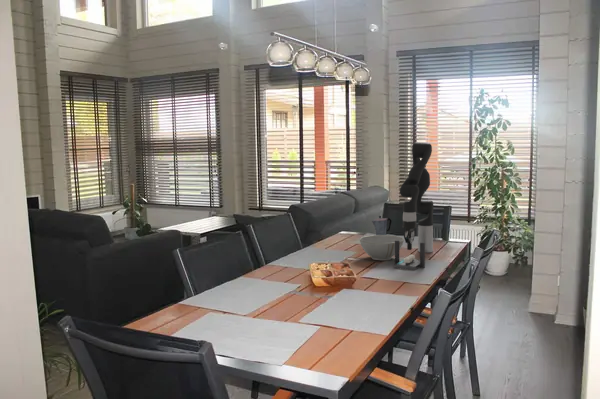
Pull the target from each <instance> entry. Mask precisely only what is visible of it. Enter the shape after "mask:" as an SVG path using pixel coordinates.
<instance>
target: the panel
mask: <svg viewBox="0 0 600 399" xmlns="http://www.w3.org/2000/svg"><path fill="white" fill-rule="evenodd" d="M400 268H401V270H402V269H403V270H408V271H409V270H410V271H416V270H418V269H420V259H415V260H413V261H410V263H405V262H404V258H403V259H401V260H399V262H398V263H396V264H395V263H394V269H400Z"/></svg>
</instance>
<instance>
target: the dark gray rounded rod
mask: <svg viewBox="0 0 600 399" xmlns="http://www.w3.org/2000/svg"><path fill="white" fill-rule="evenodd" d="M398 262H400V250H399V241H395V255H394V265H395V264H396V263H398Z"/></svg>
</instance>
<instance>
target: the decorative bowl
mask: <svg viewBox="0 0 600 399" xmlns="http://www.w3.org/2000/svg"><path fill="white" fill-rule="evenodd" d="M395 241H399V251H400V250H401V249H402V246H403V244H404V241H405V239H404V237H402V236H399V235H398V236H397V235H390V234H389V235H388V234H387V235H376V234H375V235H374V234H373V235H366V236H362V237H360V238H359V242H360V246H361V248H362V249H363V250H364V252H365V253H366V254H367V255H368V256H370V257H371V259H372V260H375V261H390V260H391V259H392V258H393V257H395Z"/></svg>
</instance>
